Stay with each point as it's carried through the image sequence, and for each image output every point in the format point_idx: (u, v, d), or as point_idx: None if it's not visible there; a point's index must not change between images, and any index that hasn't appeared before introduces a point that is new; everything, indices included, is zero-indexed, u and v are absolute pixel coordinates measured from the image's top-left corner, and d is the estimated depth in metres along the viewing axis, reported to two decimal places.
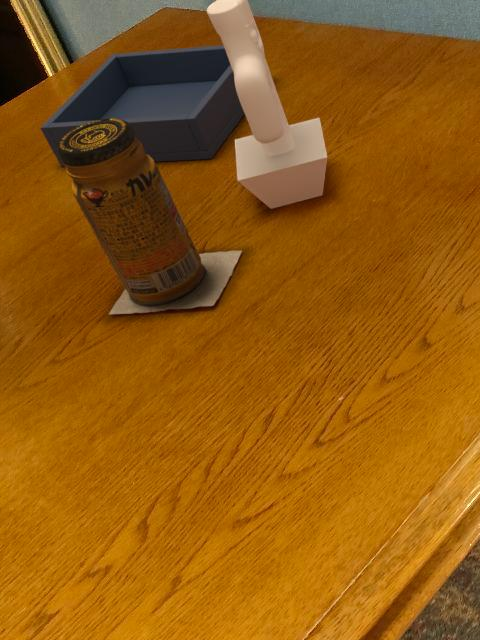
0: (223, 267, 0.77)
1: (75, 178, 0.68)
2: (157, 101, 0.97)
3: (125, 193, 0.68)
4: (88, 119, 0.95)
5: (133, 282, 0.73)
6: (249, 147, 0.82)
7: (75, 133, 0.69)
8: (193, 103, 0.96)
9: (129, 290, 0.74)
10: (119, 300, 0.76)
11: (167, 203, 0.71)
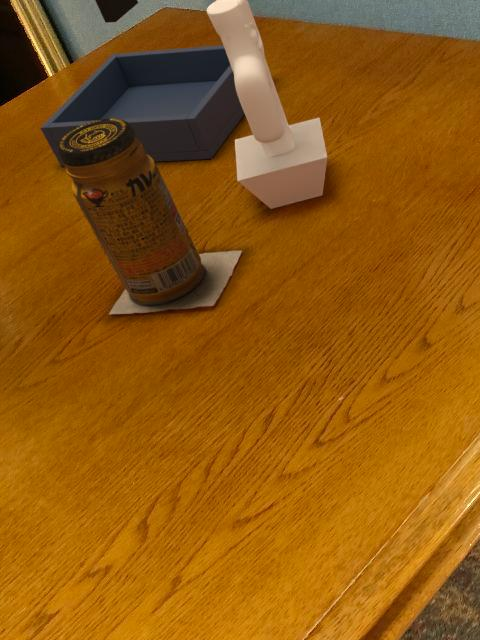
0: (223, 267, 0.77)
1: (75, 178, 0.68)
2: (157, 101, 0.97)
3: (125, 193, 0.68)
4: (88, 119, 0.95)
5: (133, 282, 0.73)
6: (249, 147, 0.82)
7: (75, 133, 0.69)
8: (193, 103, 0.96)
9: (129, 290, 0.74)
10: (119, 300, 0.76)
11: (167, 203, 0.71)
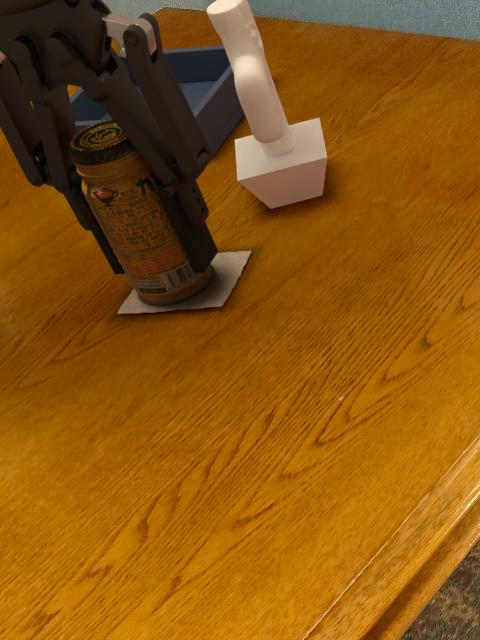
0: (232, 267, 0.76)
1: (85, 177, 0.68)
2: None
3: (135, 193, 0.68)
4: (88, 119, 0.95)
5: (142, 282, 0.73)
6: (249, 147, 0.82)
7: (86, 132, 0.68)
8: (193, 103, 0.96)
9: (138, 289, 0.74)
10: (127, 299, 0.76)
11: None
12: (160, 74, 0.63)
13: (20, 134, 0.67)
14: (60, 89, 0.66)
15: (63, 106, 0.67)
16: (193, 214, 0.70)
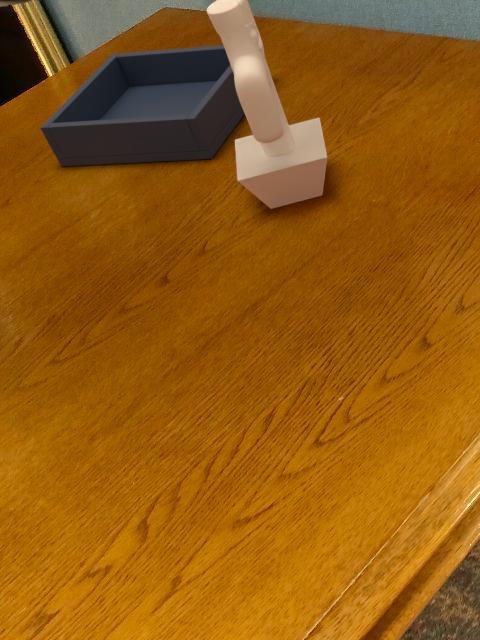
0: None
1: None
2: (157, 101, 0.97)
3: None
4: (88, 119, 0.95)
5: None
6: (249, 147, 0.82)
7: None
8: (193, 103, 0.96)
9: None
10: None
11: None
12: None
13: None
14: None
15: None
16: None
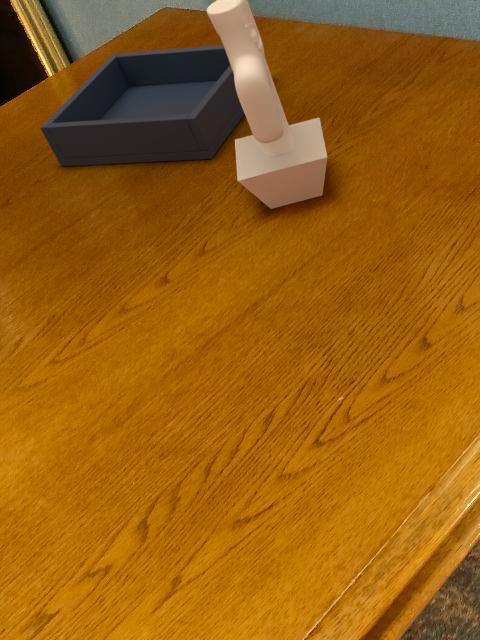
0: None
1: None
2: (157, 101, 0.97)
3: None
4: (88, 119, 0.95)
5: None
6: (249, 147, 0.82)
7: None
8: (193, 103, 0.96)
9: None
10: None
11: None
12: None
13: None
14: None
15: None
16: None
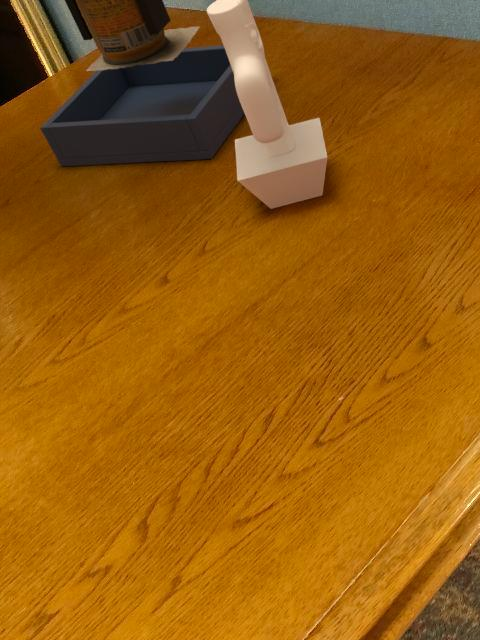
0: (183, 37, 0.91)
1: None
2: (157, 101, 0.97)
3: None
4: (88, 119, 0.95)
5: (105, 40, 0.87)
6: (249, 147, 0.82)
7: None
8: (193, 103, 0.96)
9: (102, 50, 0.88)
10: (95, 62, 0.90)
11: None
12: None
13: None
14: None
15: None
16: None
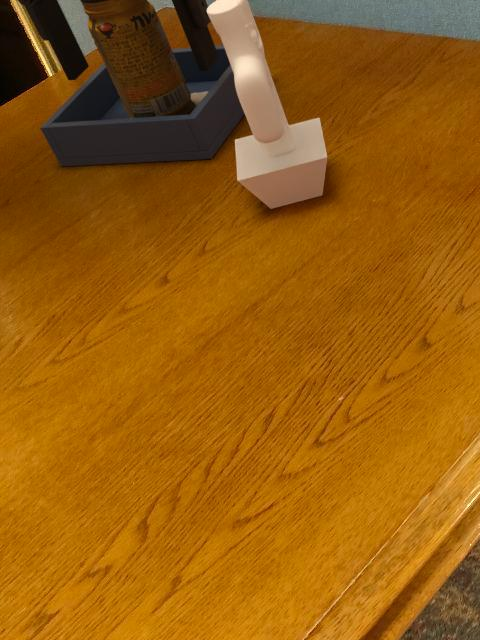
0: None
1: (90, 14, 0.86)
2: None
3: (129, 27, 0.87)
4: (88, 119, 0.95)
5: (136, 107, 0.92)
6: (249, 147, 0.82)
7: None
8: None
9: (133, 115, 0.93)
10: None
11: (163, 40, 0.90)
12: None
13: None
14: None
15: None
16: (198, 16, 0.86)
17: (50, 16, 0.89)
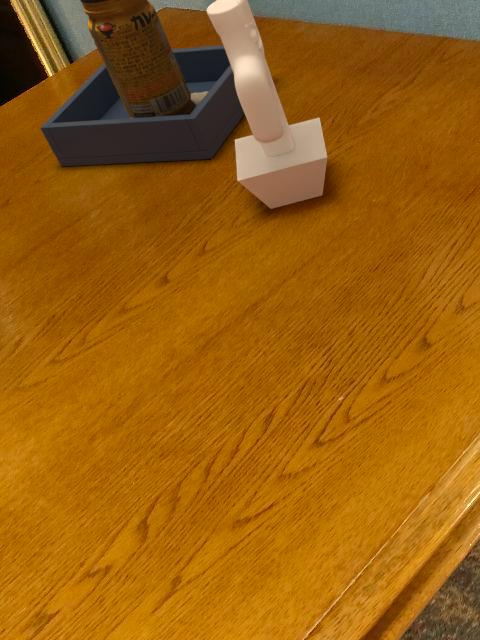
0: None
1: (90, 14, 0.86)
2: None
3: (129, 27, 0.87)
4: (88, 119, 0.95)
5: (136, 107, 0.92)
6: (249, 147, 0.82)
7: None
8: None
9: (133, 115, 0.93)
10: None
11: (163, 40, 0.90)
12: None
13: None
14: None
15: None
16: None
17: None
